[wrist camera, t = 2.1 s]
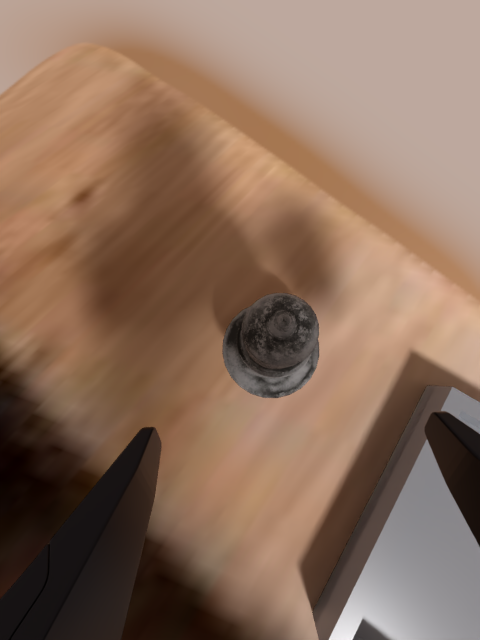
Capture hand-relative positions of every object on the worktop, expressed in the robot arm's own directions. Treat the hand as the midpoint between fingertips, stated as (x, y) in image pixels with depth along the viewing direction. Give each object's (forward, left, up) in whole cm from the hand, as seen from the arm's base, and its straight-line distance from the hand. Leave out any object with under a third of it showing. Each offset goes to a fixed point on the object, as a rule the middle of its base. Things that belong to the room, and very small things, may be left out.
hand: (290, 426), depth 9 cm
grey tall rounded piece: (+3, +2, -11) cm, 11 cm away
